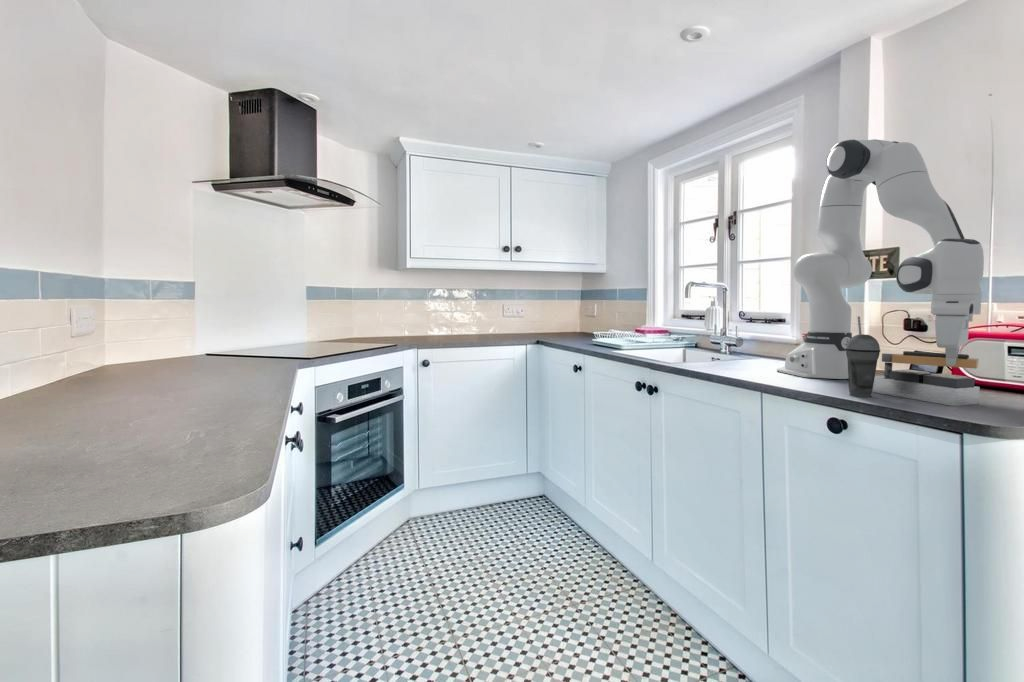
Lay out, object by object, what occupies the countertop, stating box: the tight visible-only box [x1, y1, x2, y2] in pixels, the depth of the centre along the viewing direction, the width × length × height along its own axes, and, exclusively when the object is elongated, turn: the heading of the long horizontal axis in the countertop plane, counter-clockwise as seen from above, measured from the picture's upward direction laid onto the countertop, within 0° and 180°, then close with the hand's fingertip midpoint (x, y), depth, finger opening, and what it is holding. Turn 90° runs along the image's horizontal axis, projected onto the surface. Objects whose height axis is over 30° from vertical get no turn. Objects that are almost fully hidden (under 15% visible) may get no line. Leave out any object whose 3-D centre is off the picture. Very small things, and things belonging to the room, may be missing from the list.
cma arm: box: [881, 350, 979, 370], centre depth 125 cm, size 18×4×3 cm, turn 43°
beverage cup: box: [845, 316, 882, 398], centre depth 125 cm, size 7×7×20 cm
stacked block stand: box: [872, 362, 981, 407], centre depth 123 cm, size 20×8×8 cm, turn 17°
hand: (951, 365), depth 119 cm, fingers closed
